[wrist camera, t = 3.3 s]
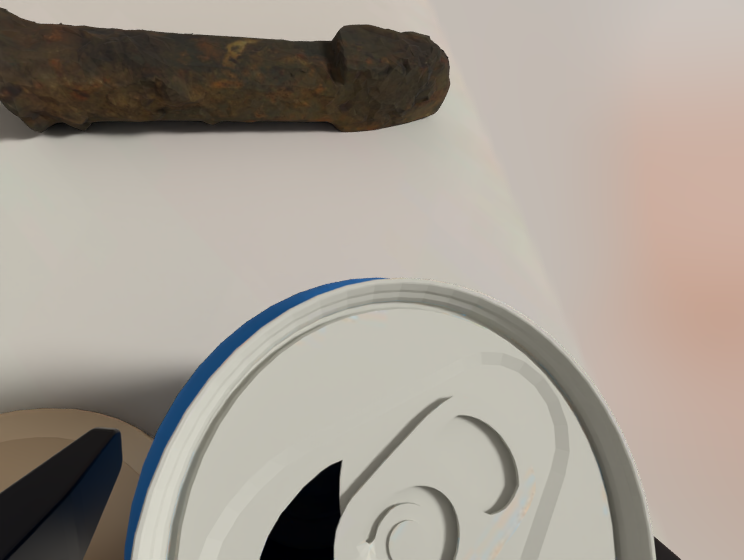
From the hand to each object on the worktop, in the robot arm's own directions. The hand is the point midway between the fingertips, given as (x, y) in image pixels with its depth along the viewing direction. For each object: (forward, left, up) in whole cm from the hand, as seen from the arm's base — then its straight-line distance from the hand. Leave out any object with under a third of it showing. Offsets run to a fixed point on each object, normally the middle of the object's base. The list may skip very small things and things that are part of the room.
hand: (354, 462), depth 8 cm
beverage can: (0, 0, -8) cm, 8 cm away
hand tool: (+16, -3, -8) cm, 18 cm away
